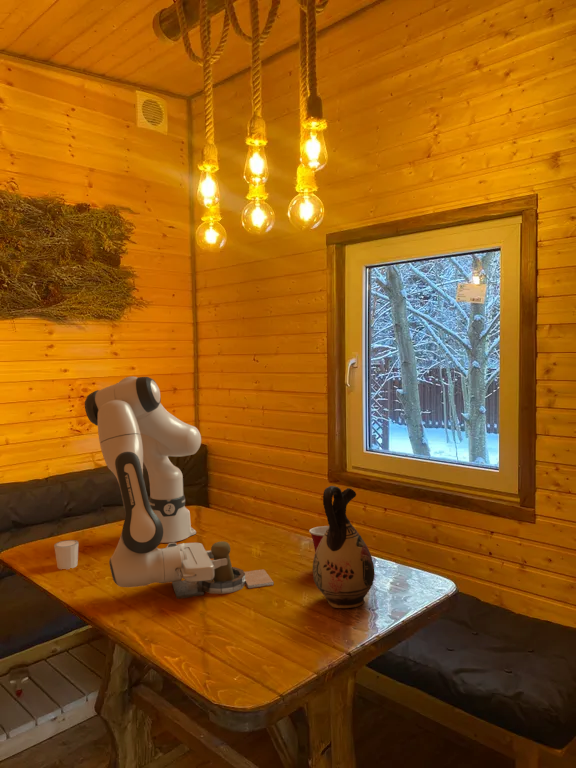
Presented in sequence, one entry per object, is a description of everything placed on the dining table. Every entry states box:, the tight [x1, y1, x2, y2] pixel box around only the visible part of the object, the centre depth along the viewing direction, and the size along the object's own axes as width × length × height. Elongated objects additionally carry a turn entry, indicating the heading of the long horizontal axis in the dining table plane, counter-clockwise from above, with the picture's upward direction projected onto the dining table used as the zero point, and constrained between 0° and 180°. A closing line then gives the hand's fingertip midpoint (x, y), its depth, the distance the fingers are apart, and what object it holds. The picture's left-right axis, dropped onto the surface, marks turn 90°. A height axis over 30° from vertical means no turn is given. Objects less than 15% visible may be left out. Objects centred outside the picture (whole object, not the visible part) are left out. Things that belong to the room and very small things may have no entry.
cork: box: [210, 541, 235, 582], centre depth 168 cm, size 6×6×11 cm
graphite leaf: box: [171, 566, 245, 600], centre depth 167 cm, size 12×19×3 cm, turn 108°
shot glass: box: [53, 539, 79, 570], centre depth 186 cm, size 7×7×7 cm
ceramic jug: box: [312, 485, 376, 609], centre depth 154 cm, size 17×15×30 cm
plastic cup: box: [308, 525, 329, 553], centre depth 177 cm, size 11×11×12 cm
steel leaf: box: [202, 569, 274, 595], centre depth 170 cm, size 12×19×1 cm, turn 108°
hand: (224, 557), depth 168 cm, fingers closed on cork, 4 cm apart
